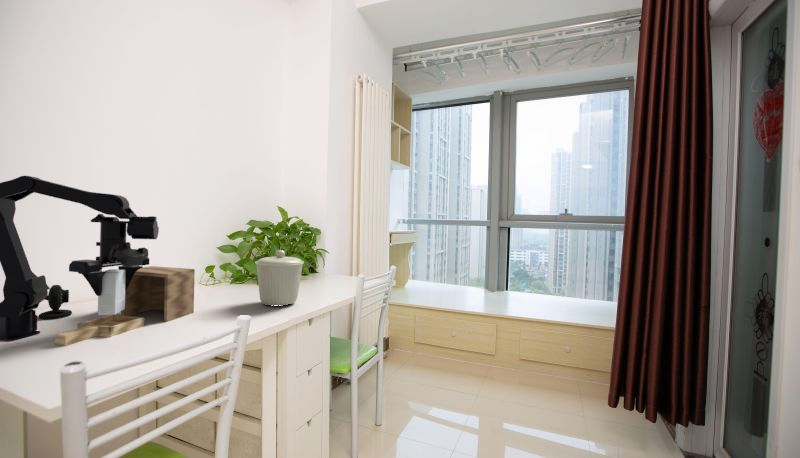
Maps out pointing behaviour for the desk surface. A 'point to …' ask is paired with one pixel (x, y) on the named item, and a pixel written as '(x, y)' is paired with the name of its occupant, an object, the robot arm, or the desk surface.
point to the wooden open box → (161, 292)
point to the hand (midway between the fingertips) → (112, 293)
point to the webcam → (56, 303)
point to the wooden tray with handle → (100, 328)
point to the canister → (279, 279)
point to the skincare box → (112, 292)
